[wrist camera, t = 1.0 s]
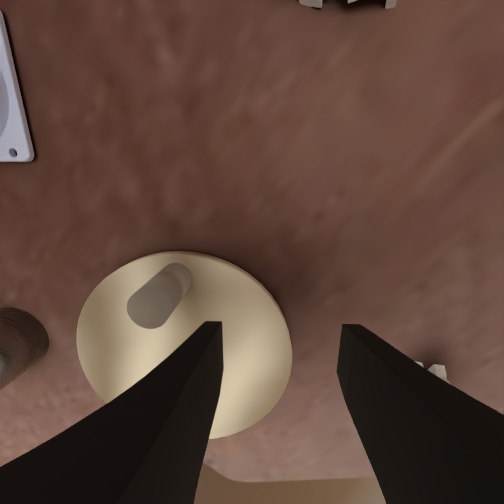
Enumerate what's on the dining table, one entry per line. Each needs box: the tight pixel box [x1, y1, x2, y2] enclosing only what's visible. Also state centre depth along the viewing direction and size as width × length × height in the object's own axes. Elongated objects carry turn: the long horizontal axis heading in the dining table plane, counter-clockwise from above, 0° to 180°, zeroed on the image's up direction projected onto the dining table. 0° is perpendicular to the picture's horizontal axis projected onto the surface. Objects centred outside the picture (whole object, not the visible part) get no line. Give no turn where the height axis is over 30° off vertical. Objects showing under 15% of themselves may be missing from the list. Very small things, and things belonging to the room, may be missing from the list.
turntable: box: [77, 251, 292, 439], centre depth 15 cm, size 15×15×5 cm
